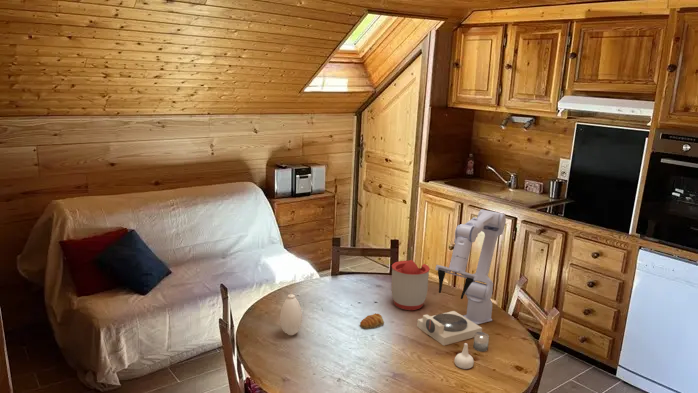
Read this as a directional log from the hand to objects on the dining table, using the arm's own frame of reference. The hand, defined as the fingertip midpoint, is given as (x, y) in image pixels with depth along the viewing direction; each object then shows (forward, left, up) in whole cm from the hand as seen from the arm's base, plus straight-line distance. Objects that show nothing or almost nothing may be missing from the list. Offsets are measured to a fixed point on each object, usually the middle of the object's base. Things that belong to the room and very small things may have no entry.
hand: (450, 295), depth 182 cm
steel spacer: (-11, +6, -20) cm, 23 cm away
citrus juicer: (-9, -35, -20) cm, 41 cm away
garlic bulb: (+2, +12, -20) cm, 23 cm away
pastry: (+15, -26, -20) cm, 36 cm away
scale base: (-9, -9, -20) cm, 23 cm away
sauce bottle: (+46, -32, -20) cm, 60 cm away
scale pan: (-9, -9, -16) cm, 21 cm away
